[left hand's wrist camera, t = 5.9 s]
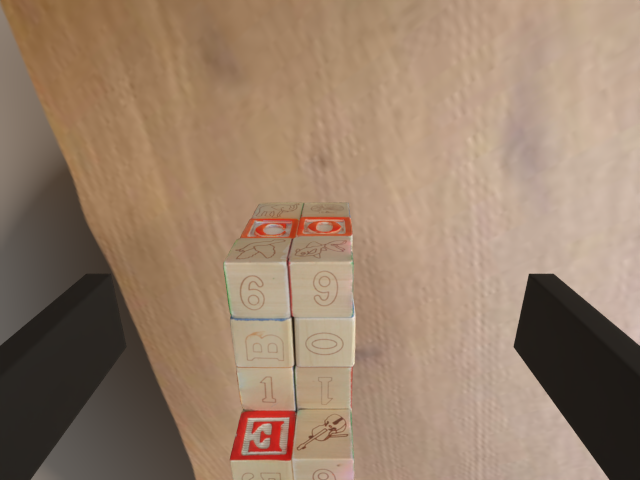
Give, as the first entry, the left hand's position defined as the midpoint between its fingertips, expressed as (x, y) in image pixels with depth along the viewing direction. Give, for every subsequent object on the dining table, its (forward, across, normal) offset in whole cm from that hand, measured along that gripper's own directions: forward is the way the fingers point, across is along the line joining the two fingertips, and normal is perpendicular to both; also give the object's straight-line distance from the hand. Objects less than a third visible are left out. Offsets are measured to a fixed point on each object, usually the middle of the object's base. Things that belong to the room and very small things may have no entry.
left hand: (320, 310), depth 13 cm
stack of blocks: (+15, -1, -11) cm, 19 cm away
